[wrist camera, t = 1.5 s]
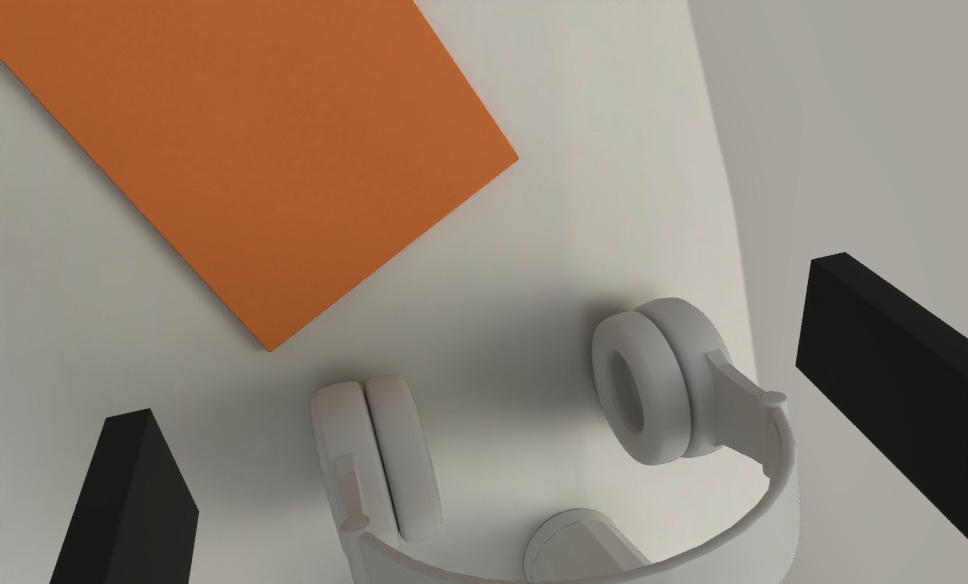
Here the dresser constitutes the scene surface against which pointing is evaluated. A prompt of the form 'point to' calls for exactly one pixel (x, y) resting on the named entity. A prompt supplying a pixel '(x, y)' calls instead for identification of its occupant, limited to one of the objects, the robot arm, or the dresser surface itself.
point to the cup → (579, 548)
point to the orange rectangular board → (264, 133)
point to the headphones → (633, 418)
